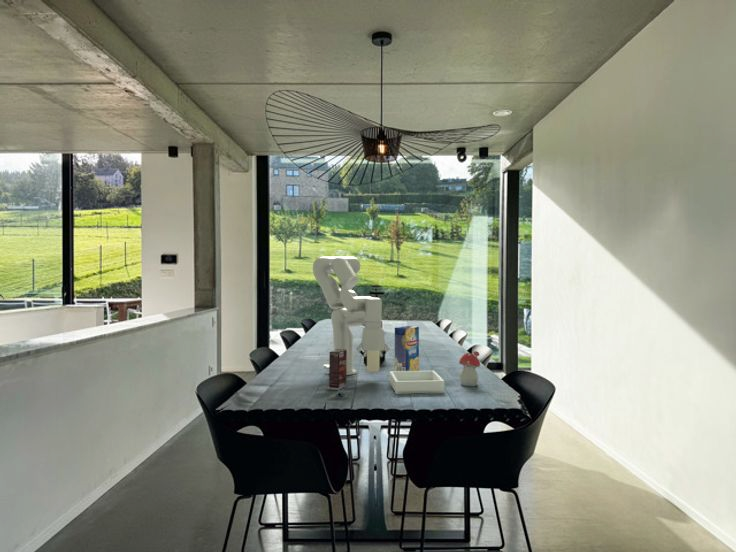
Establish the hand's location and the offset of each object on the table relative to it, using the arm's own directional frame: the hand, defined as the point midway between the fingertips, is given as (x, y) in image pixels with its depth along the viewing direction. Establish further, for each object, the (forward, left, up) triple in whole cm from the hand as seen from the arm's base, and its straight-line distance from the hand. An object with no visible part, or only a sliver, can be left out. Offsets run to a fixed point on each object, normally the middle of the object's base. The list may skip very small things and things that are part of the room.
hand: (372, 365), depth 243 cm
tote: (+17, -14, -7) cm, 24 cm away
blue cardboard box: (+18, +20, -7) cm, 28 cm away
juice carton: (0, 0, -3) cm, 3 cm away
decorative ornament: (+41, -11, -7) cm, 43 cm away
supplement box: (-16, -12, -7) cm, 21 cm away
